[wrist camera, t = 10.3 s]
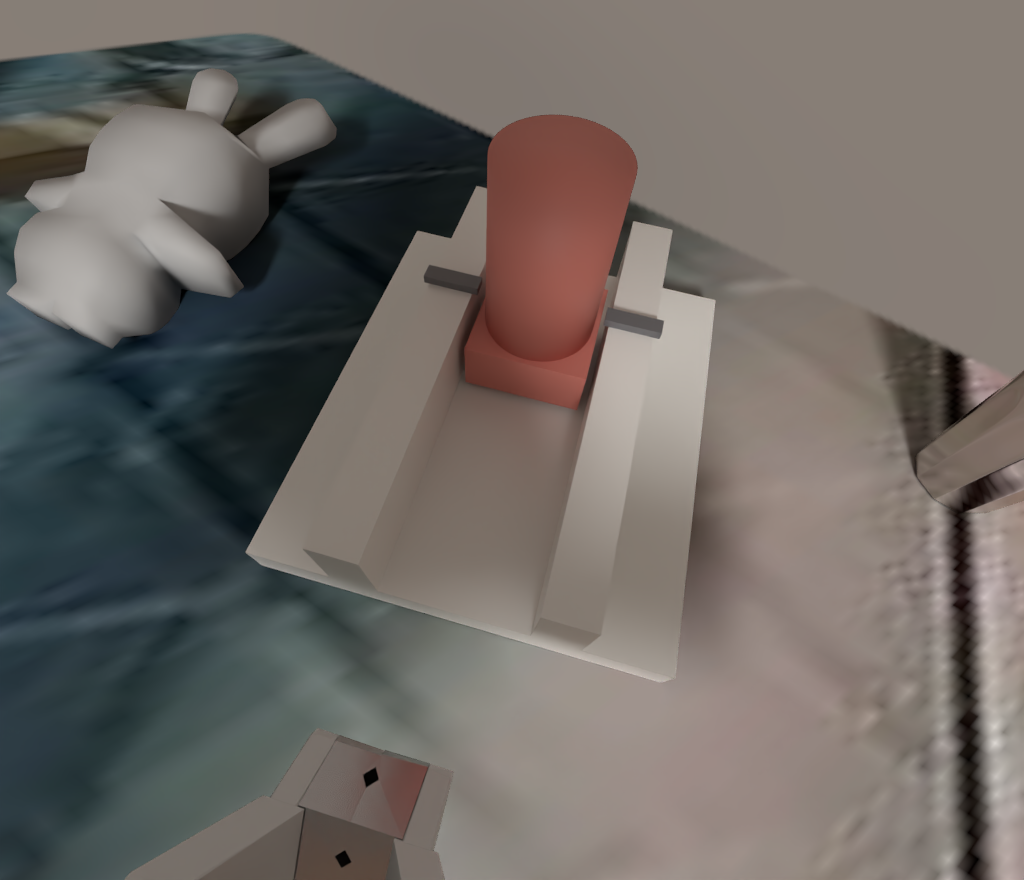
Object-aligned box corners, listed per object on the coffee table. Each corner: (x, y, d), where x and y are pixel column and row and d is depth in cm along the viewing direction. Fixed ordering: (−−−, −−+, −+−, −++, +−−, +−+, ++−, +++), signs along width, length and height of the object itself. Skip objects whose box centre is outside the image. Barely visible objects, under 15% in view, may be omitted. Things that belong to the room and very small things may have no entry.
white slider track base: (262, 565, 18) (197, 515, 14) (420, 255, 26) (409, 164, 22) (660, 682, 17) (718, 666, 13) (702, 323, 25) (748, 239, 21)
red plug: (465, 381, 20) (458, 190, 13) (496, 300, 22) (505, 98, 15) (577, 410, 20) (631, 230, 13) (598, 324, 22) (654, 129, 15)
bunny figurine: (-91, 240, 20) (165, 14, 25) (26, 322, 24) (220, 117, 30) (114, 326, 18) (339, 68, 23) (196, 395, 23) (368, 167, 28)
